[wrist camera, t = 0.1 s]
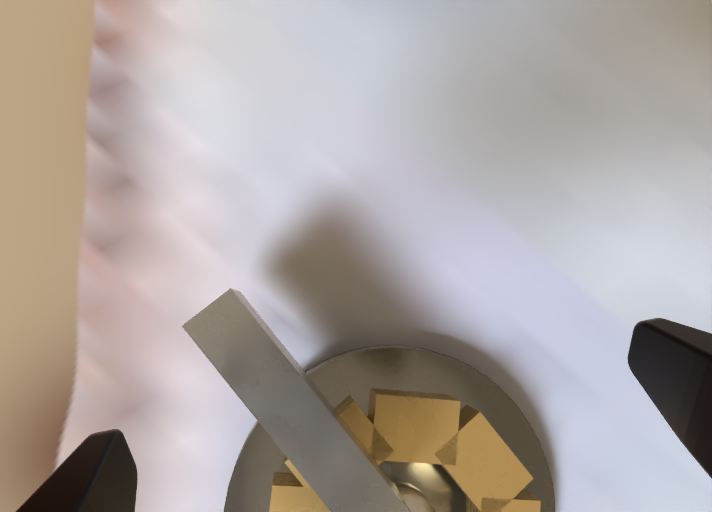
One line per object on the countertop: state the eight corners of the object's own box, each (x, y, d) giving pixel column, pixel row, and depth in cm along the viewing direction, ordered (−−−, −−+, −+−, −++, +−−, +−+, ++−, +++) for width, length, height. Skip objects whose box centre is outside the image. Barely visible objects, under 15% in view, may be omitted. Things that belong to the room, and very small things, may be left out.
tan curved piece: (568, 531, 22) (645, 592, 17) (381, 724, 20) (409, 854, 15) (325, 229, 22) (335, 207, 17) (115, 393, 20) (61, 418, 15)
